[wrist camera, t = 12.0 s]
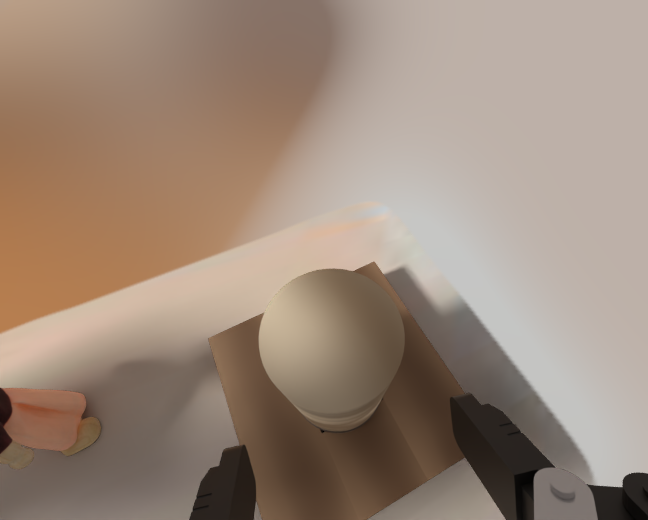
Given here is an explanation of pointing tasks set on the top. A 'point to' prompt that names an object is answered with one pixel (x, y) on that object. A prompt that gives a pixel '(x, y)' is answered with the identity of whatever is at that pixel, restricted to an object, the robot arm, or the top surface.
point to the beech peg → (332, 346)
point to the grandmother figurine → (43, 424)
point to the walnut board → (340, 448)
